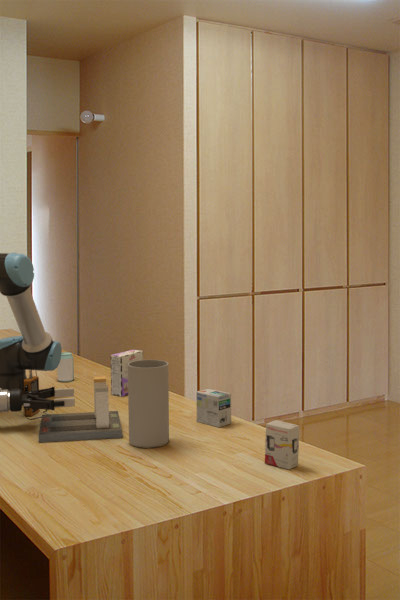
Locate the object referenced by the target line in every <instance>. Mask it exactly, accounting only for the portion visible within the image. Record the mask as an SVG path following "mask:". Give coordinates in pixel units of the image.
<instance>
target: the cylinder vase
mask: <svg viewBox="0 0 400 600" xmlns="http://www.w3.org/2000/svg"><path fill="white" fill-rule="evenodd" d="M169 388H170V387H169V362H168V361H166V360H159V359H143V360H138V361H133V362H130V363H128V395H127V397H128V399H127V401H128V403H127V404H128V441H129V443H130V445H132V446H134V447H137V448H141V447H142V449H145V448H146V449H153V448H159V447H162V446H165V445H166V444H167V443H169V440H170V415H169V414H170V411H169V410H170V407H169V406H170V405H169V399H170V395H169V394H170V393H169V392H170V390H169Z"/></svg>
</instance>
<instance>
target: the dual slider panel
mask: <svg viewBox="0 0 400 600" xmlns="http://www.w3.org/2000/svg"><path fill="white" fill-rule="evenodd" d="M95 394H96V418H95V412H94V411H91V412H89V411H87V412H69V413H68V412H67V413H51V414H50V413H48V414H42V415H41V416H42V418H41V421H40V425H39V431H38V443H39V444H40V443H53V442H54V443H55V442H57V443H58V442H71V441H73V442H74V441H88V440H103V439H104V440H107V439H110V440H111V439H122V438H123V427H122V425H121V417H120V415H119V411H118V410H111V411H110V407H109V404H110V403H109V385H108V384H106V385H100V386H95Z"/></svg>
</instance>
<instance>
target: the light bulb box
mask: <svg viewBox="0 0 400 600" xmlns="http://www.w3.org/2000/svg"><path fill="white" fill-rule="evenodd" d="M195 396H196V422H197V423H201V424H205V425H209V426H212V427H216V428H221V427H224V426H227V425H230V424H232V392H225V391H221V390H216V389H212V388H206V389H201V390H197V391H196V395H195Z"/></svg>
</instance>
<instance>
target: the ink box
mask: <svg viewBox="0 0 400 600" xmlns="http://www.w3.org/2000/svg"><path fill="white" fill-rule="evenodd" d="M300 427H301V426H300V425H297V424H294V423H290V422H286V421H281V420H279V419H275V420H272V421H270V422H268V423H266V424H265V440H264V441H265V445H264V464H268V465H271V466H275V467H279V468H282V469H286V470H291V469H293V468H296V467H298V466H299V453H300V452H299V449H300V448H299V447H300Z"/></svg>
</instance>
